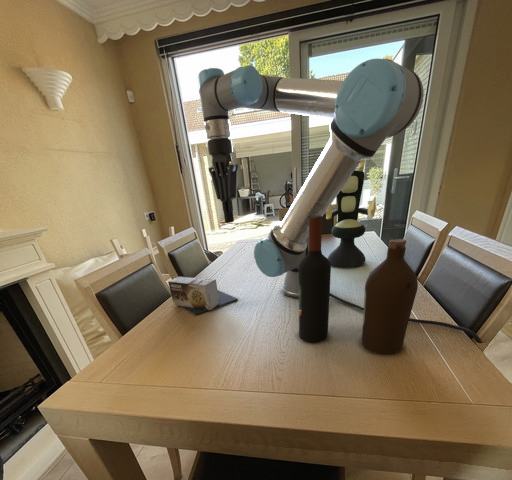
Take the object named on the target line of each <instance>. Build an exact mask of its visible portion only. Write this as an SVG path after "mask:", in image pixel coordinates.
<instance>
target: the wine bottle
mask: <svg viewBox="0 0 512 480" xmlns="http://www.w3.org/2000/svg"><path fill="white" fill-rule="evenodd" d="M322 229H323V216H310V217H309V252H308V255H307V256H306V257H305V258H303V259H302V261H301V262H300V264H299V298H298V337H299V339H300V340H301V341H303V342H305V343H309V344H319V343H323V342H325V341H326V340H327V339H328V336H329V315H330V297H331V296H330V293H331V275H332V274H331V273H332V266H331V263H330V262H329V260H328V259H327V258H328V257H327V256H325V255H324V254H323V253H322V238H321V236H322V235H323V234H322V233H323V231H322Z"/></svg>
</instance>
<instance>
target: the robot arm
mask: <svg viewBox="0 0 512 480" xmlns="http://www.w3.org/2000/svg"><path fill="white" fill-rule="evenodd" d="M197 80H198V81H197V82H198V93H199V97H200V106H201V110H202V117H203V123H204V130H205V138H206V139H208V140H207V141H206V146H207V153H208V155H209V156H211V158H212V159H211V164H212V165H211V166H210V167H208V172H209V174H210V176H211V181H212V185H213V188H214V191H215V195H216V199H217V200H219V201H220V202H221V206H222V213H223V217H224V222H225V224H230V223H234V222H235V219H234V206H233V205H234V204H233V201H234V199H236V198H237V177H238V176H237V173H238V168H239V165H238V163H234V162H233V159H232V155H231V154H232V153H233V152H234V149H233V140H232V139H231V138H230V137H231V136H232V130H231V122H230V111H233V110H237V109H250V110H260V111H261V110H262V111H270V112H278V113H285V114H287V113H288V114H295V115H302V116H309V117H318V118H325V119H331V123H330V124H329V132H330V138H329V140H328V142H327V143H326V145H325V147H324V149H323V151H321V154H320V156H319V157H318V159H317V161H316V162H315V164H314V166H313V167H312V169H311V171H310V173H309V175H308V177H307V178H306V179H305V182H304V183H303V185H302V186H301V188H300V190H299V192H298V194H297V195H296V197H295V198H294V200H293V202H292V204H291V205H290V207H289V209H288V211H287V213H286V214H285V215H284V218H283V219H282V221H278V222H276V223H275V224H274V225H273V226H272V228H271V230H270V232H269V233H268V235H267V236H266V237H265V238H262V239H260V240H259V241H258V242H256V244H255V245H254V249H253V257H254V261H255V264H256V267H257V268H258V269H259V271H260V272H261V273H262V274H263V275H264V276H266V277H269V278H276V277H280V276H283V275H284V274H285V277H284V282H283V284H282V293H283V294H284V295H286V296H287V297H291V298H297V299H299V264H300V262H301V261H302V259H303V258H305V257H306V256H307V255H308V252H309V217H310V216H322V217H324V215H325V214H326V211H327V209H328V208H329V206H330V205H332V203H333V202H334V200H335V199H337V195H338V193H339V192H340V191H341V189H342V188H343V186H344V185H345V183H346V182H347V181H348V179H349V178H350V176H351V175H352V173H353V172H354V171H355V170H356V169H357V168H358V167H359V163H360V162H361V161H362V160H365V161H366V160H369V159H371V158H373V157H374V156H375V155H376V153H377V151H378V150H379V149H380V147H381V146H382V145H383V143H384V142H385V141H386V139H387V138H391V137H394V136H397V135H399V134H401V133H402V132H404V131H406V130H407V129H409V127H410V126H411V125H412V124H413V123H414V122H415V120H416V118H417V117H418V115H419V113H420V111H421V109H422V105H423V102H424V96H425V95H424V84H423V82H422V80H421V78H420V77H419V75H418V74H417V73H416V72H415V71H413V70H412V69H409V68H407V67H405V66H402V65H401V64H399V63H398V62H395V61H394V60H393V59H389V58H371V59H367V60H365V61H363V62H361V63H359V64H358V65H356V66H355V67H354V68H353V69H352V70H351V71H350V72H349V73H348V74H347V75H346V77H345V78H344V80H340V79H339V80H338V79H323V78H321V79H319V78H302V77H301V78H300V77H284V76H283V77H282V76H271V75H264V74H261V73H260V72H259V71H258V69H256V67H255V66H253V65H251V64H249V65H248V64H247V65H243V66H239V67H237V68H236V69H234V70H232V71H229V72H227V73H225V72H224V71H223V69H221V68H217V67H209V68H204V69H202V70H201V71H199V73H198V75H197ZM321 239H323V238H322V236H321ZM330 297H331V298H333V299H334V300H336V301H339V302H341V303H343V304H346V305H348V306H350V307H353V308H356V309H359V310H361V311H363V312H364V306H361V305H358V304H356V303H353V302H350V301H348V300H345V299H343V298H341V297H339V296H336V295H334V294H332V293H331V292H330ZM408 323H417V324H425V325H435V326H441V327H446V328H449V329H453V330H458V331H461V332H465V333H467V334H469V335H470V336H471V337H472V338H473V340H474V341H476V343H477V344H483V341H482V339H481V338H480V336H478V335H477V333H475V331H473V330H471V328H470V329H469V328H467V327H464V326H460V325H456V324H451V323H447V322H445V321H444V322H443V321H437V320H430V319H429V320H426V319H418V318H411V317H410V318H409V322H408Z"/></svg>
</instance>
